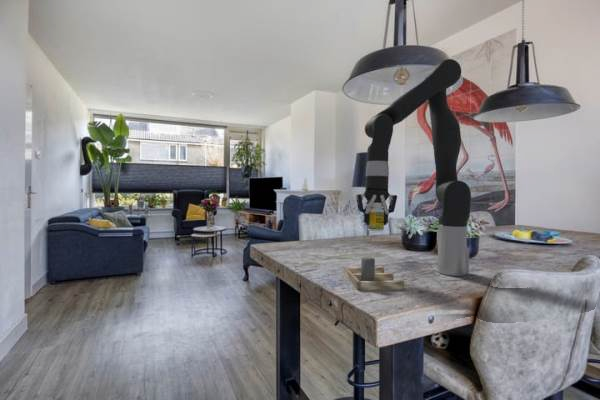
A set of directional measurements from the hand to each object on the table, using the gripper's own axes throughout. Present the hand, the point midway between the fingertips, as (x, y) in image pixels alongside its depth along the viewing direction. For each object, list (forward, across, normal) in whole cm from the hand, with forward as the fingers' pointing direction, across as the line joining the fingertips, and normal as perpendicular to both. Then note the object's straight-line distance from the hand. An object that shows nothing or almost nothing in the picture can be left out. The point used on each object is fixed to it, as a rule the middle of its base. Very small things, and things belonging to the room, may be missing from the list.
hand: (375, 224), depth 102 cm
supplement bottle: (+2, 0, 0) cm, 2 cm away
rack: (+18, +3, +7) cm, 20 cm away
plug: (+17, +6, +11) cm, 21 cm away
